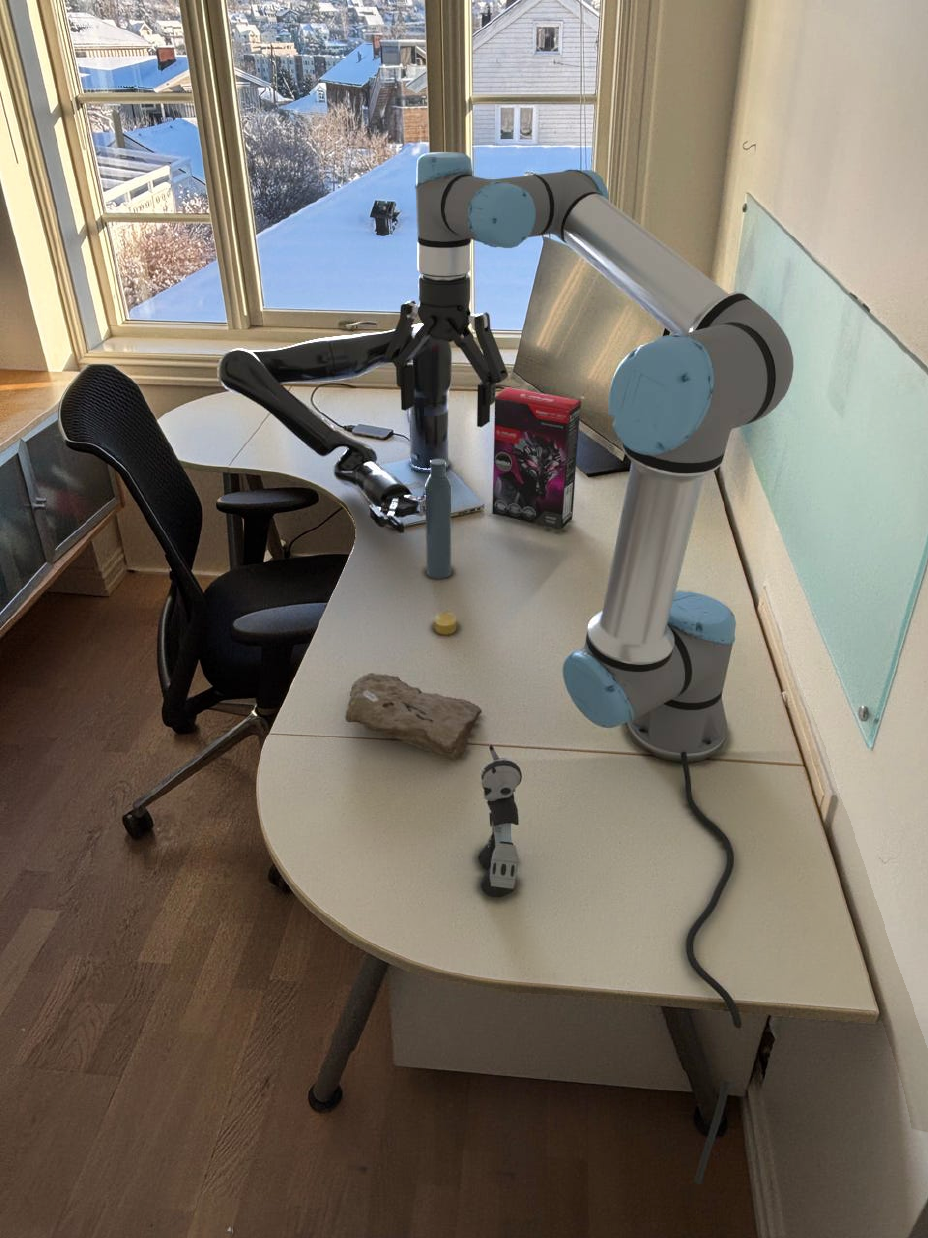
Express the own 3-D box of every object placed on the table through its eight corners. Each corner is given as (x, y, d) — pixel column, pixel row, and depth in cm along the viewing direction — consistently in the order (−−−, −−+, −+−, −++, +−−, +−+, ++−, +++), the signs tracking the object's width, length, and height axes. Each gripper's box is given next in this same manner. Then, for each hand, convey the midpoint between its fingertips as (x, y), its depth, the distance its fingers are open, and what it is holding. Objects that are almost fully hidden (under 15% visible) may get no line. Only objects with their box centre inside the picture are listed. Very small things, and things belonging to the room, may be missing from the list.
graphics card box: (489, 515, 202) (492, 395, 187) (503, 502, 207) (507, 384, 192) (561, 533, 196) (570, 410, 180) (573, 519, 201) (583, 399, 186)
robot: (523, 934, 111) (531, 817, 100) (483, 936, 111) (487, 818, 100) (509, 815, 128) (514, 703, 117) (474, 816, 127) (476, 704, 116)
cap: (436, 635, 164) (435, 626, 163) (432, 623, 167) (432, 614, 166) (458, 633, 165) (458, 624, 164) (454, 621, 168) (454, 612, 167)
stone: (319, 730, 137) (326, 695, 135) (356, 690, 151) (363, 658, 148) (450, 779, 134) (460, 744, 131) (477, 733, 147) (486, 701, 145)
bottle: (434, 563, 185) (432, 454, 172) (455, 569, 183) (455, 459, 170) (422, 574, 181) (419, 463, 168) (443, 581, 179) (443, 469, 166)
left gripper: (354, 483, 192) (388, 515, 180) (415, 469, 198) (452, 499, 186) (356, 515, 196) (390, 548, 184) (416, 500, 202) (452, 532, 190)
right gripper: (534, 279, 129) (527, 423, 141) (385, 258, 139) (390, 393, 151) (510, 291, 124) (505, 439, 136) (357, 268, 134) (364, 408, 146)
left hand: (421, 523), depth 185 cm, fingers open, 8 cm apart
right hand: (445, 415), depth 143 cm, fingers open, 13 cm apart
